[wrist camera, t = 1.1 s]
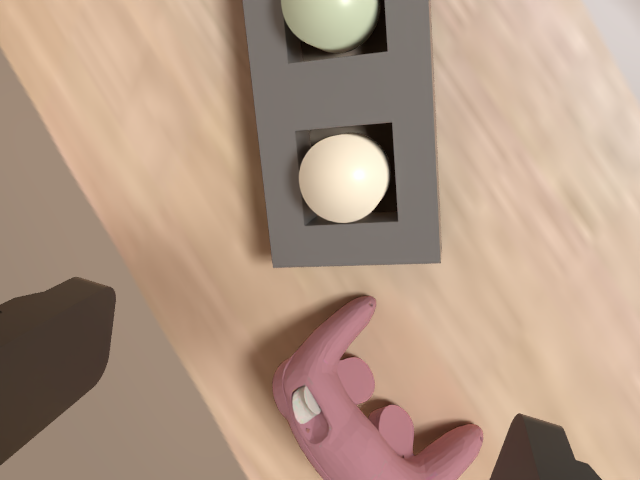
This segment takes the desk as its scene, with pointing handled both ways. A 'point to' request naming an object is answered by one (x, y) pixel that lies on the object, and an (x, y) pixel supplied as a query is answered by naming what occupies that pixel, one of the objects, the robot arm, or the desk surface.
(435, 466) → the video game controller
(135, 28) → the desk surface
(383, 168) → the cream button
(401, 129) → the button panel
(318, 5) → the sage button
